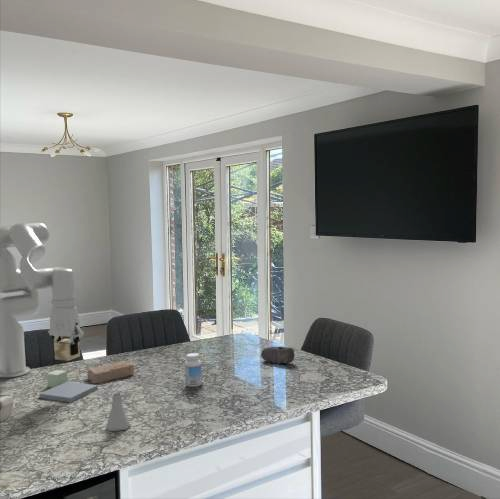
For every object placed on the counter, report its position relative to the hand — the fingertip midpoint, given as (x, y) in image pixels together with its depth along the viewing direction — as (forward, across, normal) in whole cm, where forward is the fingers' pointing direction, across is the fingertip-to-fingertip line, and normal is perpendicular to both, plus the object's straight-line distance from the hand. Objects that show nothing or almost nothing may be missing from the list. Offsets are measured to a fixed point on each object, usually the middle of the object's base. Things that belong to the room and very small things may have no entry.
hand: (67, 353), depth 190 cm
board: (+15, 0, 0) cm, 15 cm away
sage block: (+15, -11, +6) cm, 19 cm away
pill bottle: (+15, +38, +23) cm, 47 cm away
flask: (+15, +36, -19) cm, 43 cm away
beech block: (+2, 0, 0) cm, 2 cm away
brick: (+15, +2, +21) cm, 26 cm away
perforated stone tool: (+15, +57, +59) cm, 83 cm away
